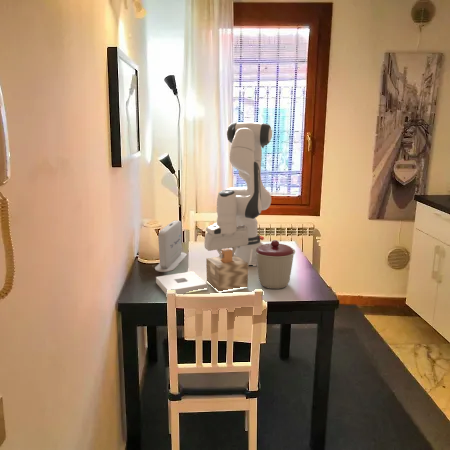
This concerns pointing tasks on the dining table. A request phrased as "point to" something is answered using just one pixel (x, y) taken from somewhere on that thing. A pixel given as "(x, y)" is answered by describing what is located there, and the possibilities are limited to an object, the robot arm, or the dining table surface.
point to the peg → (227, 255)
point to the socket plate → (181, 282)
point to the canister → (274, 264)
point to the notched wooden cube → (227, 273)
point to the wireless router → (170, 247)
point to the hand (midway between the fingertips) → (226, 257)
